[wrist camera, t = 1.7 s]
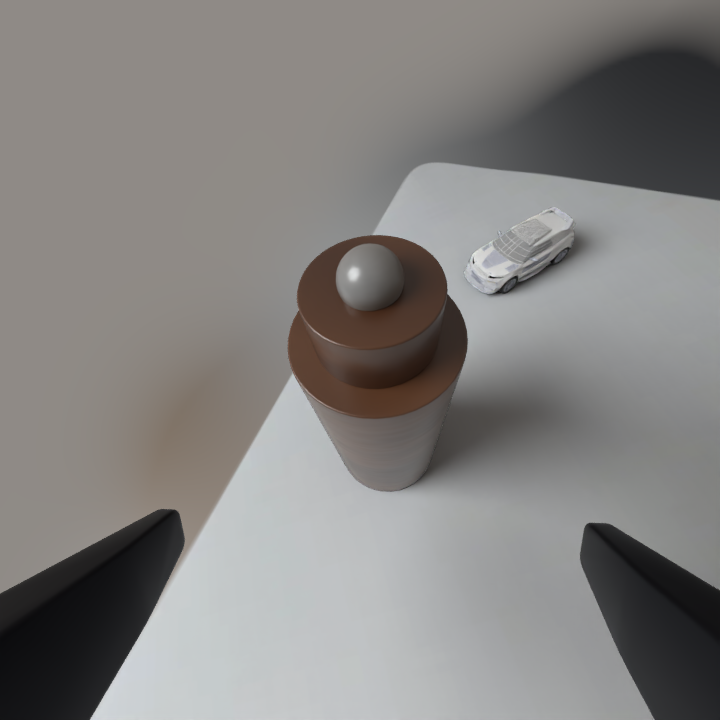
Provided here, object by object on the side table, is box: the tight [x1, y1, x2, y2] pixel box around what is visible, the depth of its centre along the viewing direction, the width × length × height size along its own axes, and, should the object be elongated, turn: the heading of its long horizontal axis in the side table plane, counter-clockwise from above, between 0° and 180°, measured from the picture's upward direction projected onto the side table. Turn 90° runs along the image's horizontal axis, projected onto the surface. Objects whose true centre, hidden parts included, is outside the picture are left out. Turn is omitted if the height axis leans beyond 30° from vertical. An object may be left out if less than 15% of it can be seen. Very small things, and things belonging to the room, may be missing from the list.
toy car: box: [464, 207, 575, 294], centre depth 24 cm, size 4×8×3 cm, turn 121°
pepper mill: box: [288, 235, 468, 492], centre depth 13 cm, size 5×5×14 cm
